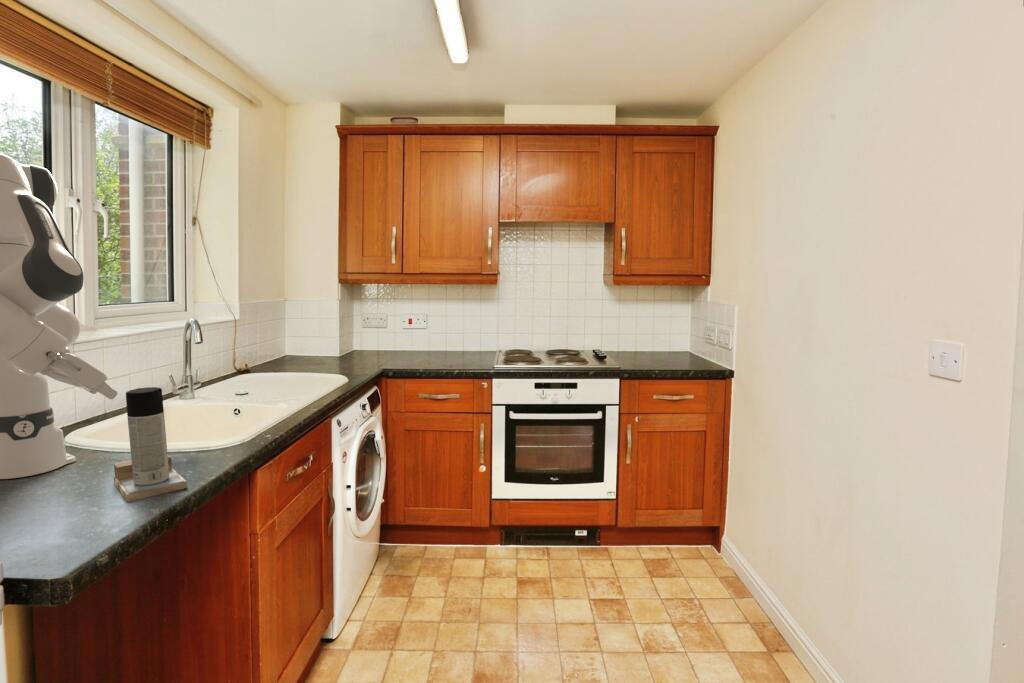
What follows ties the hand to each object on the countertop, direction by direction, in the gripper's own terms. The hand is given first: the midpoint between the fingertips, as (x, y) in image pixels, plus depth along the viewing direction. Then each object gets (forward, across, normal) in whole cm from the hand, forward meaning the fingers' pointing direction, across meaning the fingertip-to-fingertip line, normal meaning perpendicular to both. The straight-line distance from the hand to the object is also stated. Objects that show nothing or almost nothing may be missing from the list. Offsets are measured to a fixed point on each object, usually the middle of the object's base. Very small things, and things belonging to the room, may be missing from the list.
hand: (105, 393), depth 120 cm
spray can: (+19, 0, +10) cm, 22 cm away
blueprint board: (+21, +2, +10) cm, 23 cm away
